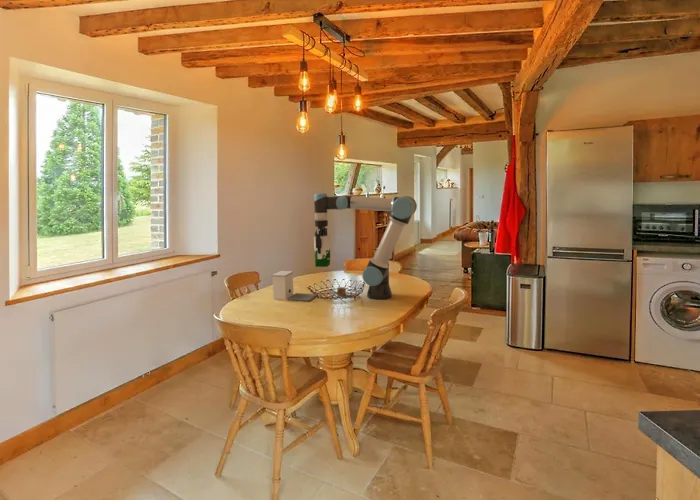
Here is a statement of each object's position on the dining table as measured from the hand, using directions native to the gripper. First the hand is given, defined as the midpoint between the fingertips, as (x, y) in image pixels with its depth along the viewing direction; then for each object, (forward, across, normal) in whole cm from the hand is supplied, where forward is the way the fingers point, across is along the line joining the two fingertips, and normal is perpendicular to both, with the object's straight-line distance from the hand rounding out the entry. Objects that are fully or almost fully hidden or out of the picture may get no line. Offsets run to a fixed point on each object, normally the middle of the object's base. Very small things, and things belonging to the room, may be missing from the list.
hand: (322, 257), depth 262 cm
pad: (+25, +1, -14) cm, 29 cm away
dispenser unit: (+25, +1, -26) cm, 36 cm away
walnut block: (+26, -9, +8) cm, 28 cm away
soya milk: (+5, 0, 0) cm, 5 cm away
